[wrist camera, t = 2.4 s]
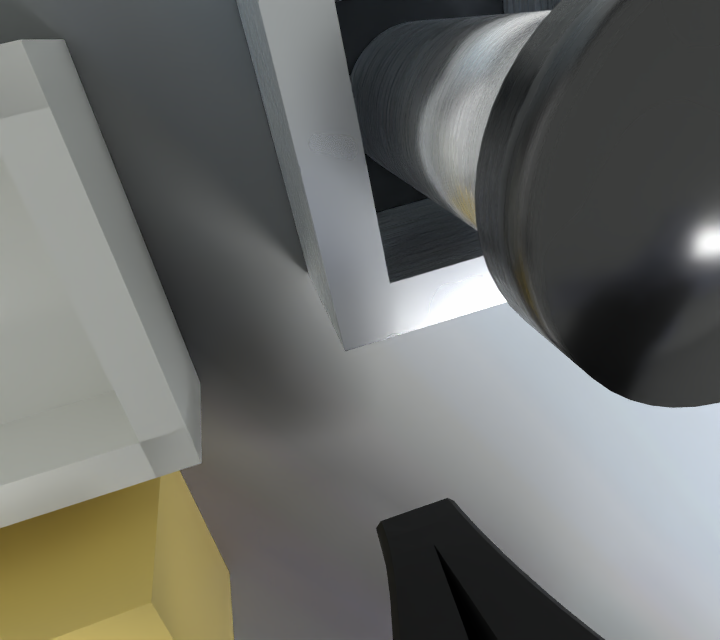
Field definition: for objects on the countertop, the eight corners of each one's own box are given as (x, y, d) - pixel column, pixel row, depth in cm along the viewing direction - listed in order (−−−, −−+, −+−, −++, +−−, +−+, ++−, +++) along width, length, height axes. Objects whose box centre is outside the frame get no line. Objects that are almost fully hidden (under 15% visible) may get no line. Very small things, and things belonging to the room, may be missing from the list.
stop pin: (510, 169, 11) (913, 336, 5) (345, 215, 11) (555, 461, 4) (494, -28, 9) (1046, -149, 3) (301, 16, 9) (526, -29, 3)
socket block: (557, 204, 11) (664, 252, 9) (309, 275, 11) (345, 351, 8) (543, -107, 9) (684, -165, 7) (226, -38, 9) (239, -73, 6)
